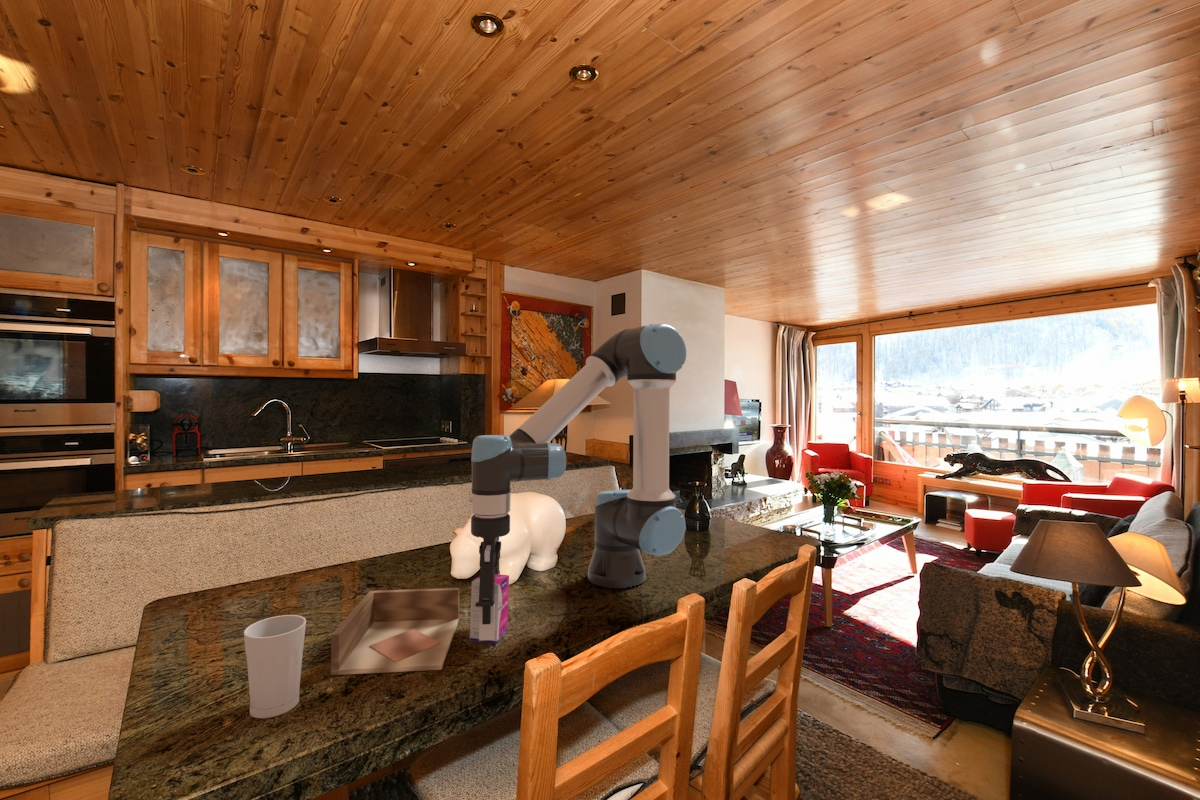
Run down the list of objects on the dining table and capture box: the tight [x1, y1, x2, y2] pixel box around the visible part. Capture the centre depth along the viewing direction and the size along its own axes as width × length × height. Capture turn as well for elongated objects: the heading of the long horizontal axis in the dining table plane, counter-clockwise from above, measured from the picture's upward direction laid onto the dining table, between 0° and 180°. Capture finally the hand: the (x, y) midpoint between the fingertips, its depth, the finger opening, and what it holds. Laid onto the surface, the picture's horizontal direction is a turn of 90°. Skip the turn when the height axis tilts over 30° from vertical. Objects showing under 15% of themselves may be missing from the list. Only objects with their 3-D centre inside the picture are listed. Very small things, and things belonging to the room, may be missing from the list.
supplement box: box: [469, 573, 510, 645], centre depth 101 cm, size 6×6×12 cm
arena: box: [330, 587, 460, 676], centre depth 97 cm, size 18×20×7 cm
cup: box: [243, 614, 307, 719], centre depth 78 cm, size 8×8×12 cm
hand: (489, 626), depth 101 cm, fingers open, 10 cm apart
